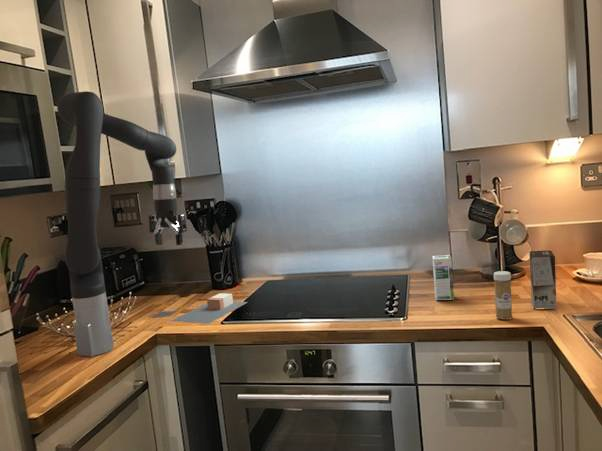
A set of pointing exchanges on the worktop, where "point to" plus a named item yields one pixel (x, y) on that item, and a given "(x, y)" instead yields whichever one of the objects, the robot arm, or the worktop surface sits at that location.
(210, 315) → the mat
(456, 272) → the worktop surface
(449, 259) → the syrup box
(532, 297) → the coffee box
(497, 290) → the sprinkles bottle
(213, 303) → the card box
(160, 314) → the smartphone
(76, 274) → the robot arm
